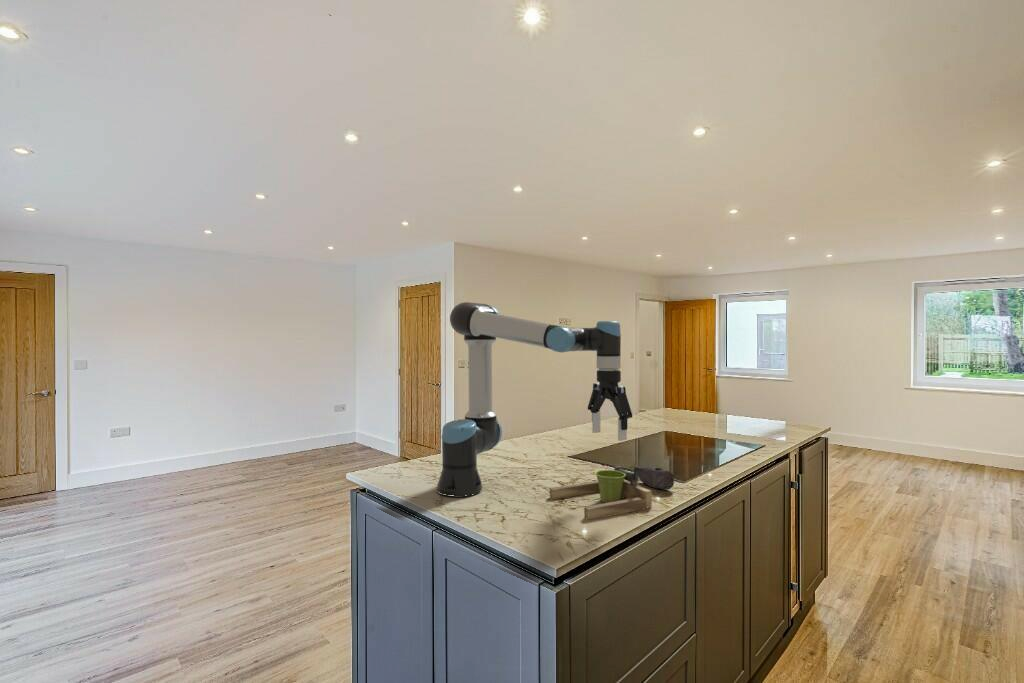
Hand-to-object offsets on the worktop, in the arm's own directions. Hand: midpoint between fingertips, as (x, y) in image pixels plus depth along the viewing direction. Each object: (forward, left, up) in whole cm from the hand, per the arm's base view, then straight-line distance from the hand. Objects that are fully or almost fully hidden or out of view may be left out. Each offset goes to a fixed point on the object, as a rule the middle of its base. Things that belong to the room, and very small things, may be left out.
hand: (608, 436), depth 155 cm
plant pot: (+1, 0, -21) cm, 21 cm away
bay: (0, -4, -20) cm, 21 cm away
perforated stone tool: (-5, +23, -21) cm, 31 cm away
